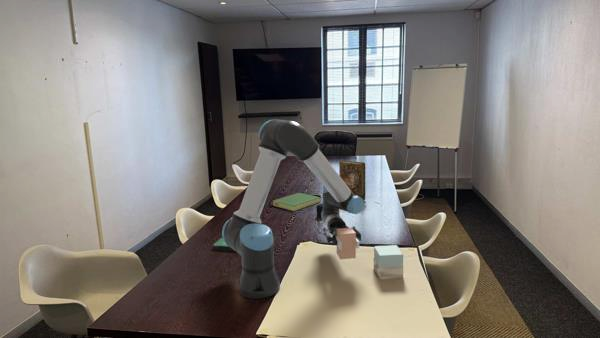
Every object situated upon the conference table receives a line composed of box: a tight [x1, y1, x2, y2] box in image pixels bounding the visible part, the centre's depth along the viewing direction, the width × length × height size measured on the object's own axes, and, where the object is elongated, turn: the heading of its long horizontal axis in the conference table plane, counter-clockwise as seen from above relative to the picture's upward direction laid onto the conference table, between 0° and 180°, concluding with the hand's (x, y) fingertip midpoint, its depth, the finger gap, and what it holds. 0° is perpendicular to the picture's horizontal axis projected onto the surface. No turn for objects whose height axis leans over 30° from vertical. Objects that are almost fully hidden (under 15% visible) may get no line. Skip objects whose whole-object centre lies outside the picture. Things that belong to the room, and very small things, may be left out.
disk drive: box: [212, 236, 236, 252], centre depth 189 cm, size 10×3×15 cm
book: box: [338, 160, 366, 201], centre depth 256 cm, size 16×6×25 cm, turn 58°
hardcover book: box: [271, 192, 320, 212], centre depth 253 cm, size 25×19×4 cm
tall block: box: [336, 227, 357, 260], centre depth 153 cm, size 6×6×10 cm
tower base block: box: [373, 258, 404, 280], centre depth 157 cm, size 9×9×5 cm
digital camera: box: [316, 202, 323, 219], centre depth 229 cm, size 10×5×7 cm, turn 135°
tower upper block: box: [373, 244, 404, 268], centre depth 156 cm, size 9×9×5 cm
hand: (349, 245), depth 148 cm, fingers closed on tall block, 6 cm apart
